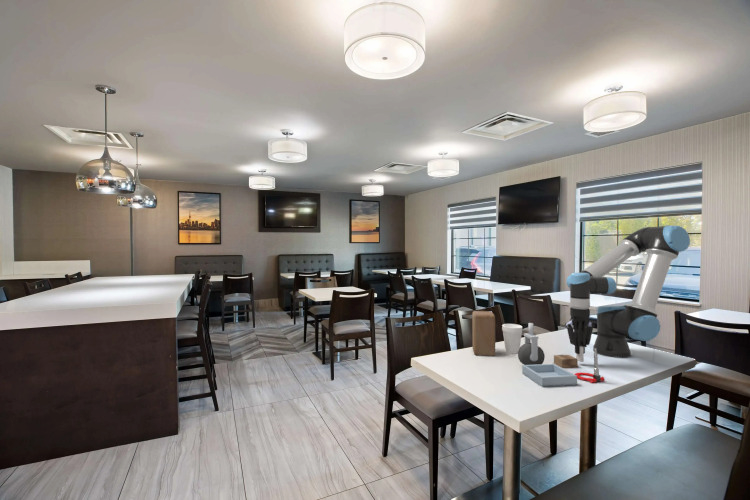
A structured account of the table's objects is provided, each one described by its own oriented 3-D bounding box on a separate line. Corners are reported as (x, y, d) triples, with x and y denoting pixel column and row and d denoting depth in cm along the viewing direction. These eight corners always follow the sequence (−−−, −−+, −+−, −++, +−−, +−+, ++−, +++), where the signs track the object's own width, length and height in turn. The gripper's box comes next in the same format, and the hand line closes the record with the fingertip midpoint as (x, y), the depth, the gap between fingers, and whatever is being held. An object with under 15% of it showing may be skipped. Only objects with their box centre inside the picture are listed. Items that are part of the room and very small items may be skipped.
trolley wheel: (538, 364, 153) (537, 321, 153) (546, 368, 147) (545, 324, 147) (516, 365, 152) (516, 322, 152) (523, 369, 146) (523, 325, 146)
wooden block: (495, 356, 165) (495, 315, 165) (474, 355, 167) (473, 314, 167) (492, 350, 174) (492, 311, 174) (472, 349, 176) (472, 310, 176)
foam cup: (500, 352, 171) (499, 326, 171) (504, 348, 179) (504, 323, 179) (520, 355, 166) (520, 328, 166) (524, 351, 173) (524, 325, 173)
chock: (568, 363, 155) (568, 354, 155) (577, 368, 149) (577, 358, 149) (553, 364, 154) (553, 355, 154) (561, 368, 148) (561, 359, 148)
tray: (554, 372, 144) (554, 363, 144) (577, 385, 130) (577, 375, 130) (522, 373, 142) (522, 365, 142) (542, 387, 128) (542, 377, 128)
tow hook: (569, 376, 140) (590, 384, 131) (568, 344, 140) (589, 349, 131) (585, 374, 142) (606, 381, 134) (583, 342, 143) (605, 347, 134)
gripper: (587, 306, 157) (587, 357, 157) (560, 306, 155) (560, 358, 155) (599, 308, 149) (599, 363, 149) (571, 309, 148) (571, 364, 148)
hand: (579, 360), depth 152 cm, fingers closed
